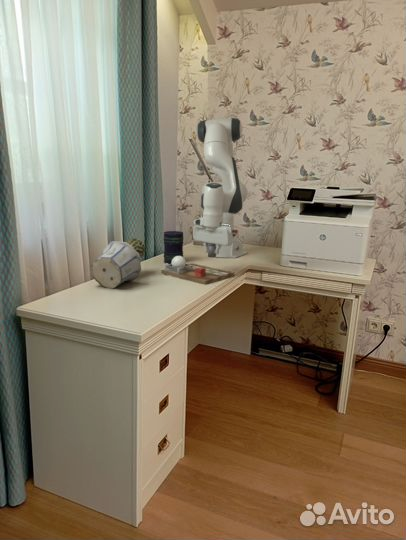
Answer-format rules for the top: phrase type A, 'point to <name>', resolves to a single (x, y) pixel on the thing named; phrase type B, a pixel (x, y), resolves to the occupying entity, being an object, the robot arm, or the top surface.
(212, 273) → the board
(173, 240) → the storage jar
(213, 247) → the pawn
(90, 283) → the top surface
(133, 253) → the potted plant
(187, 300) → the top surface
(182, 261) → the white ball
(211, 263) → the top surface
